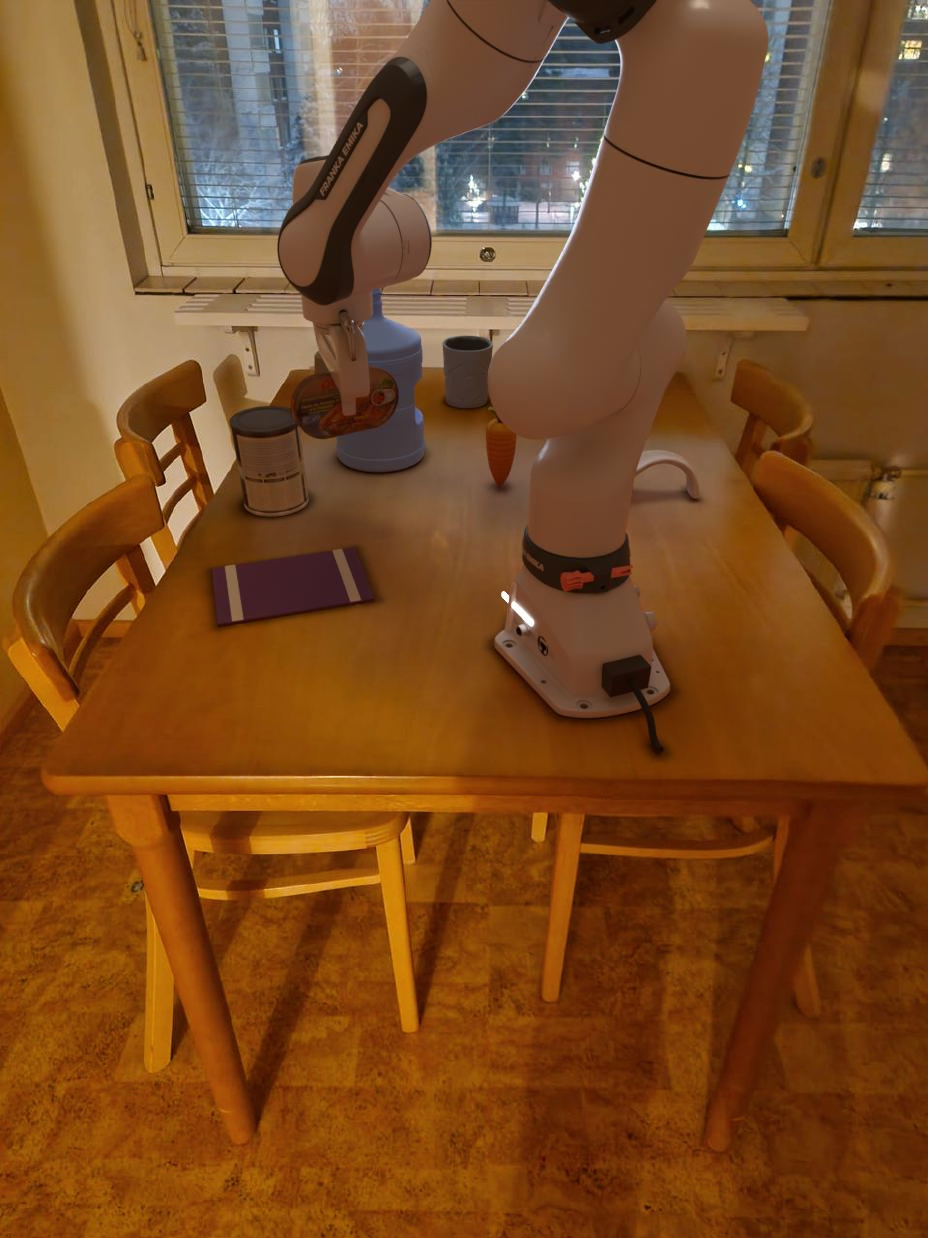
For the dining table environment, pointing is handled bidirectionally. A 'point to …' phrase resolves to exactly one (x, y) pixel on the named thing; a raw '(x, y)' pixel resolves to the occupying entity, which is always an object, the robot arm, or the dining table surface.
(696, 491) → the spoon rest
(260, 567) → the cloth
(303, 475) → the coffee can
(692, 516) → the dining table surface
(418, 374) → the water jug
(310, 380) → the tin
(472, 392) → the grey cup
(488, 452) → the carrot
